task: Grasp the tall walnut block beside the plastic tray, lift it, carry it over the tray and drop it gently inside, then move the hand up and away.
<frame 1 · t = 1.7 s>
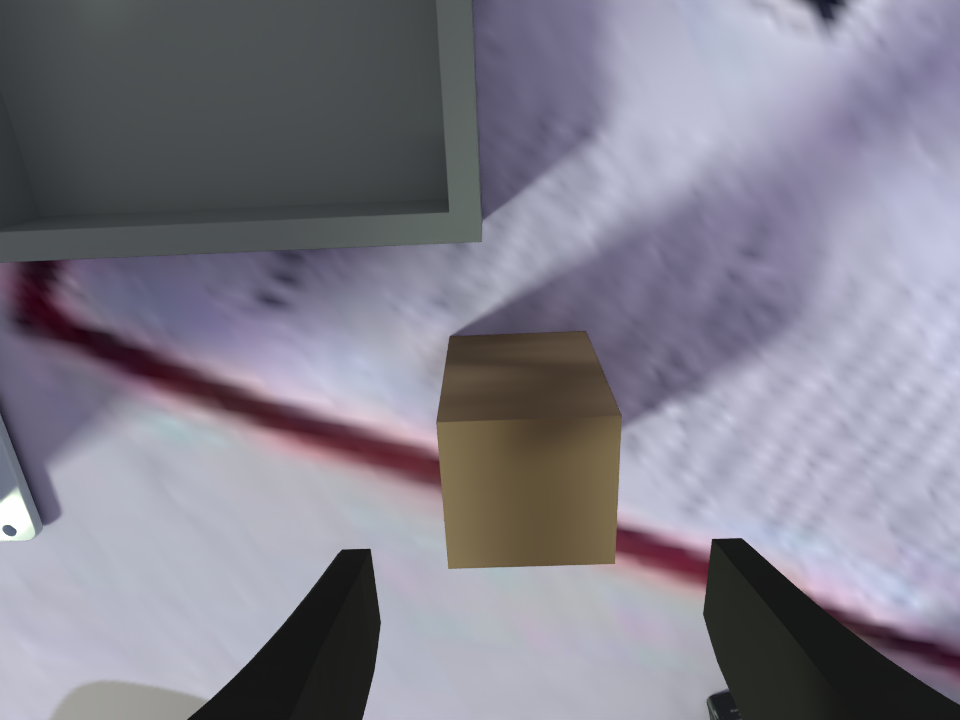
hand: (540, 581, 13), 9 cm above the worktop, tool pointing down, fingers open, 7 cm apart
walnut block: (519, 394, 22), on the worktop
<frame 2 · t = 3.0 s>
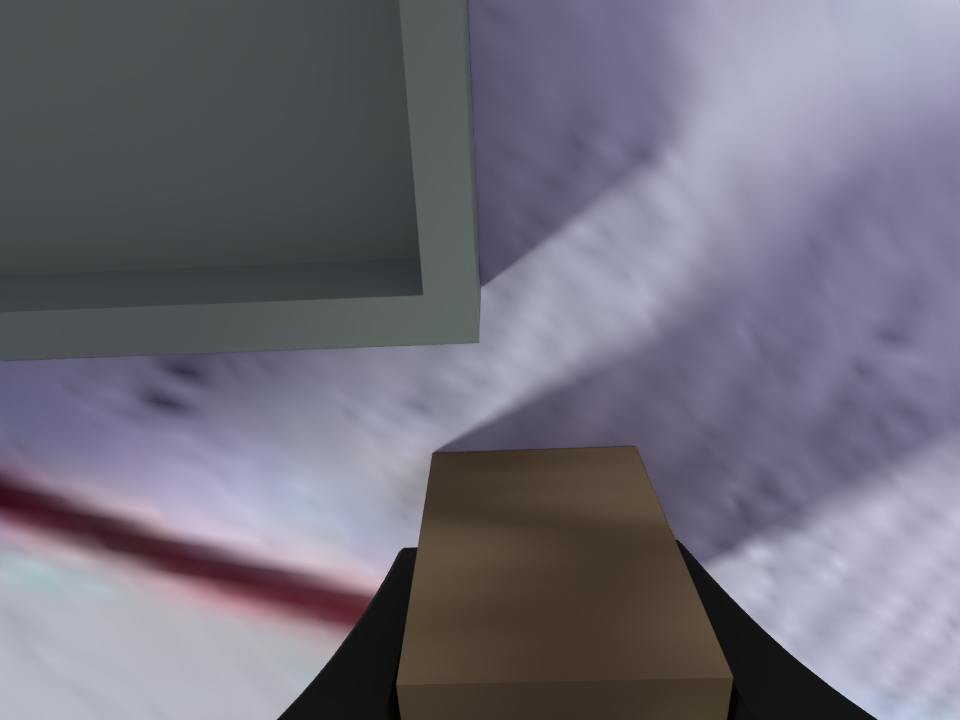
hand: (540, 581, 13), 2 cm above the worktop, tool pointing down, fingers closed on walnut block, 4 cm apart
walnut block: (534, 532, 15), on the worktop, touching gripper
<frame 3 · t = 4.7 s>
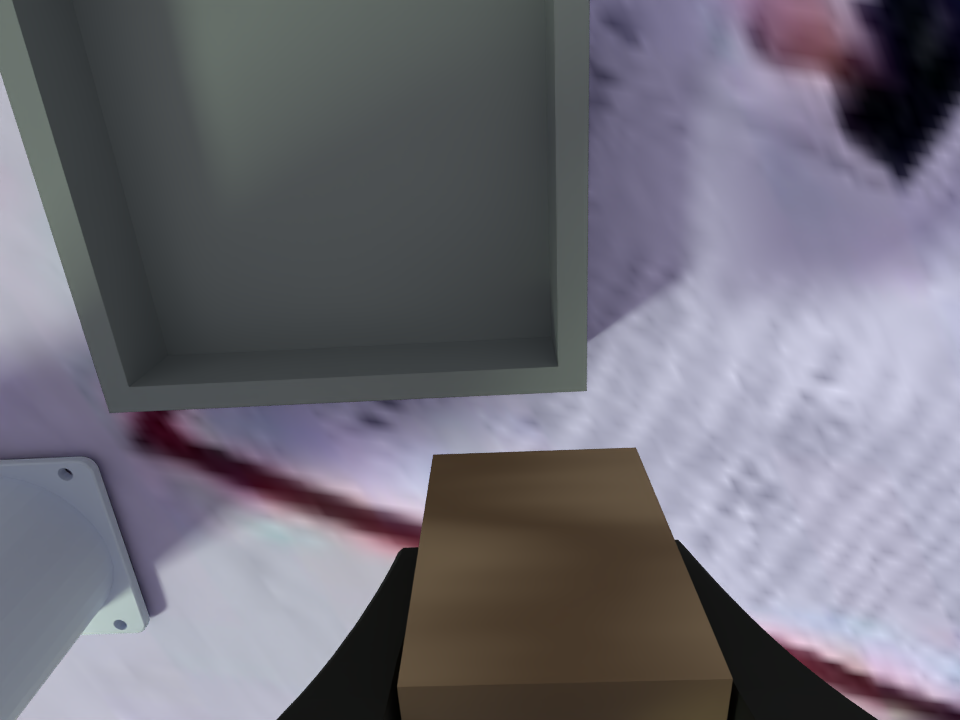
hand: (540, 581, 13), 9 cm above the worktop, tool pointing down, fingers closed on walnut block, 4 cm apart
walnut block: (535, 533, 15), point 7 cm above the worktop, touching gripper
tray: (332, 141, 18), on the worktop
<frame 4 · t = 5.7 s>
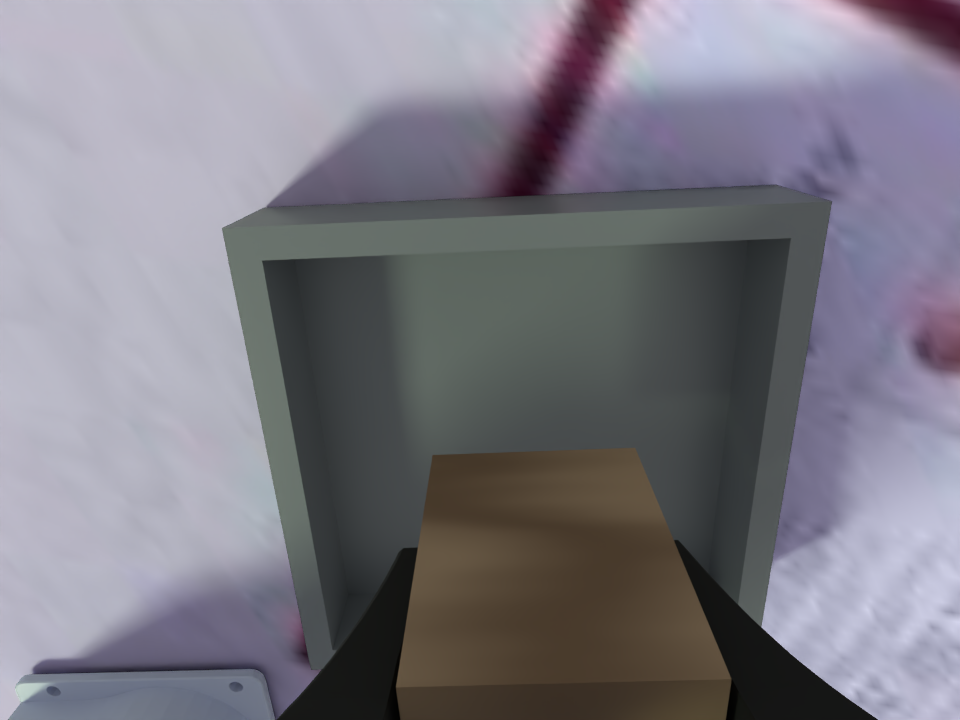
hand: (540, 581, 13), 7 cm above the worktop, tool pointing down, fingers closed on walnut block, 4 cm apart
walnut block: (534, 533, 15), point 5 cm above the worktop, touching gripper
tray: (522, 422, 20), on the worktop
when the fingers open (4 cm above the worktop, at t = 6.6 s): walnut block drops 2 cm, resting on tray.
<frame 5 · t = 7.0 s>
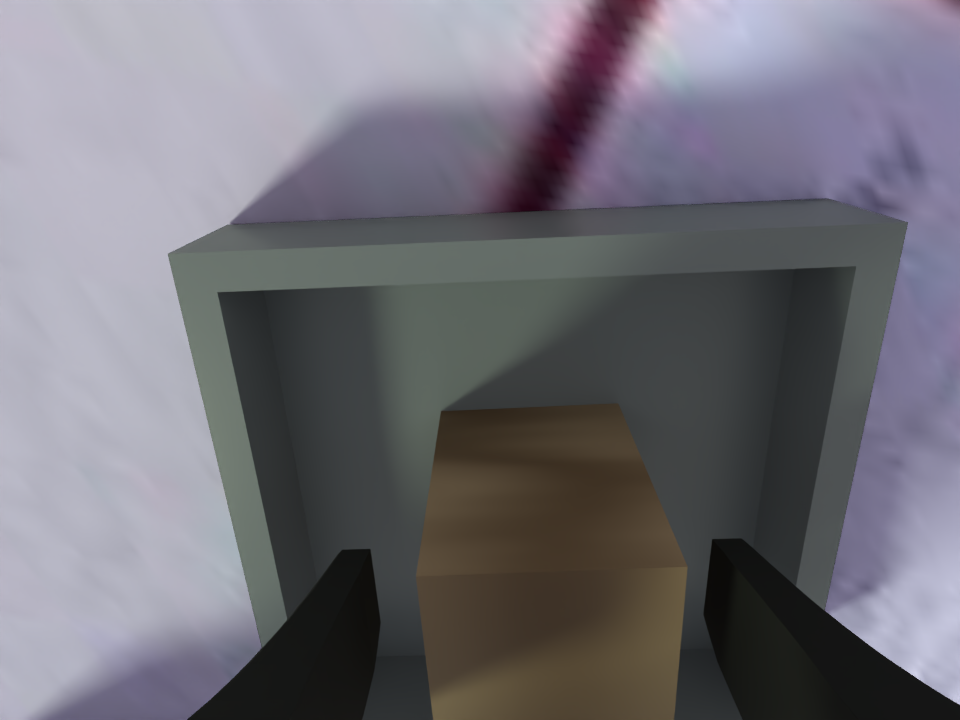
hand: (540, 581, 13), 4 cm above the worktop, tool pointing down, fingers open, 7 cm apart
walnut block: (531, 482, 17), point 1 cm above the worktop, touching tray
tray: (528, 468, 17), on the worktop
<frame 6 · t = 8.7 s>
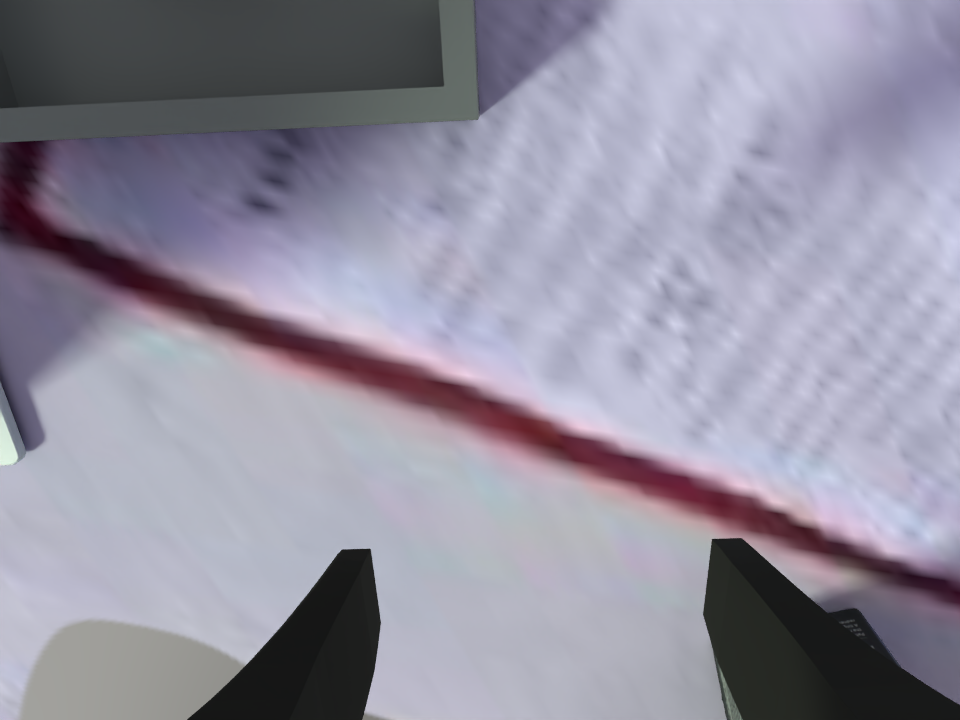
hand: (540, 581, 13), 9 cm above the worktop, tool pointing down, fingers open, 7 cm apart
small box: (796, 702, 28), on the worktop
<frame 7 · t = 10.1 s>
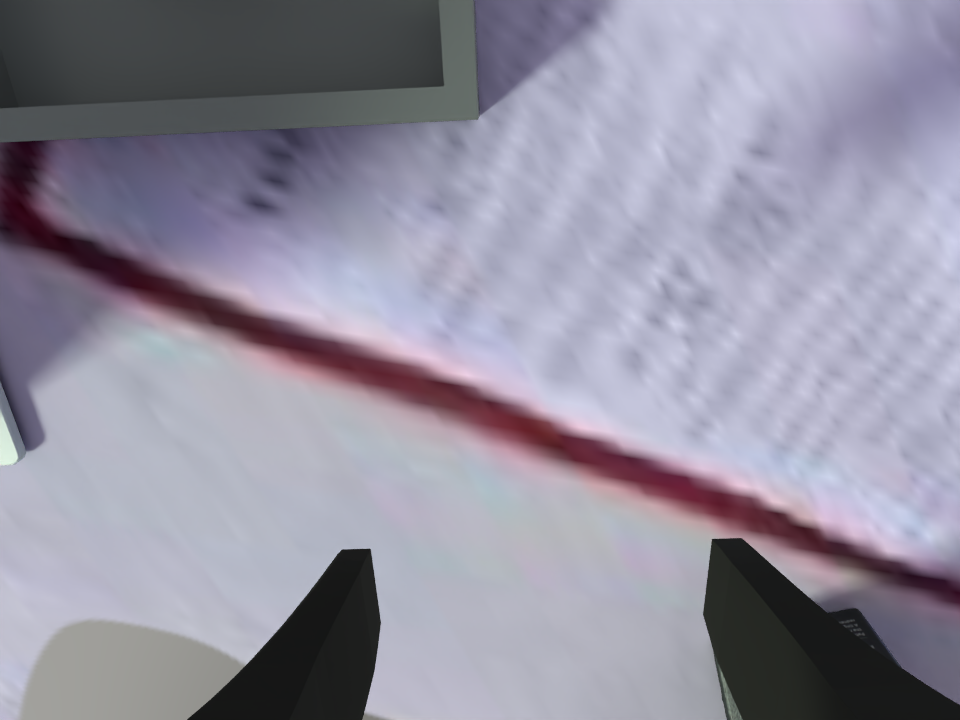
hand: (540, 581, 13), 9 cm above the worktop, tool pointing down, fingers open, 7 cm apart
small box: (796, 702, 28), on the worktop
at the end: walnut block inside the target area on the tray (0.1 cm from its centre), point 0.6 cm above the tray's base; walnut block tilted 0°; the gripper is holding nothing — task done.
